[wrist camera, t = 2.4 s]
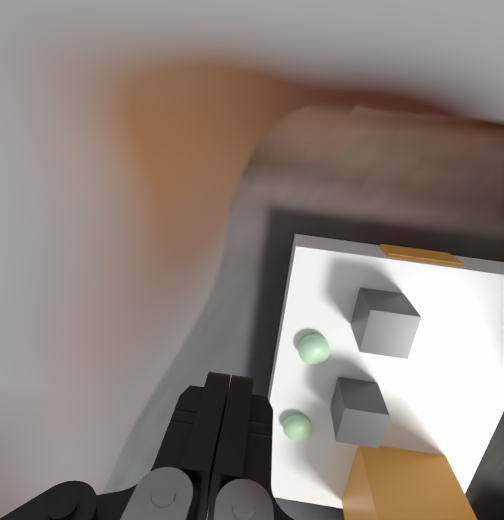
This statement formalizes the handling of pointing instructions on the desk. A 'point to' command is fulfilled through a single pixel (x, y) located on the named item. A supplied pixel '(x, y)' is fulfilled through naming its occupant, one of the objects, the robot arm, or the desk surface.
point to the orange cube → (403, 487)
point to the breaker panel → (384, 361)
